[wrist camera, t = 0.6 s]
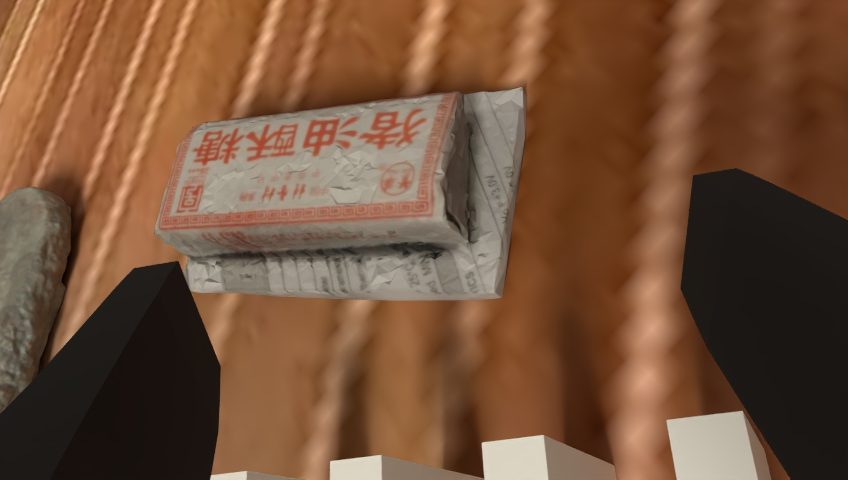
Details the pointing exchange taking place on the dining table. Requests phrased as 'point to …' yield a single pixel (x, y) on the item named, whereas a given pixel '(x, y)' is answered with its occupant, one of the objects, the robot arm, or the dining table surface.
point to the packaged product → (352, 199)
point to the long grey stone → (29, 281)
